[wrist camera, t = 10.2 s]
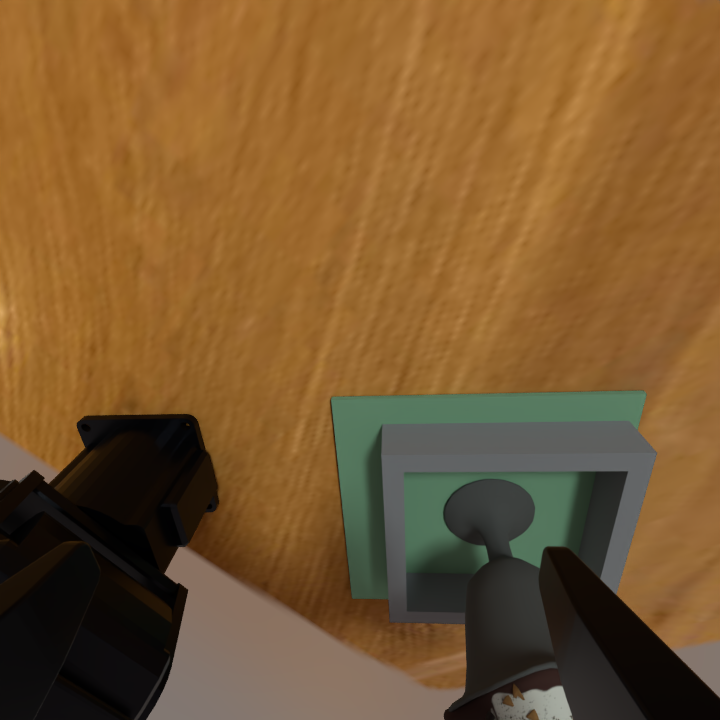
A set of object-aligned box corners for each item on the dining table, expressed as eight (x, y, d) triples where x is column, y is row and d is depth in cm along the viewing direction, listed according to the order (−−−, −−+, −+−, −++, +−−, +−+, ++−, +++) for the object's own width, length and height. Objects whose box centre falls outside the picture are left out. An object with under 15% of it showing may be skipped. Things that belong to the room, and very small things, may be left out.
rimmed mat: (352, 594, 29) (348, 637, 26) (331, 396, 22) (324, 428, 20) (590, 598, 27) (610, 644, 25) (643, 390, 21) (678, 424, 18)
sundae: (577, 512, 24) (812, 982, 11) (481, 569, 26) (574, 1009, 13) (498, 442, 22) (661, 896, 9) (404, 510, 25) (419, 946, 11)
